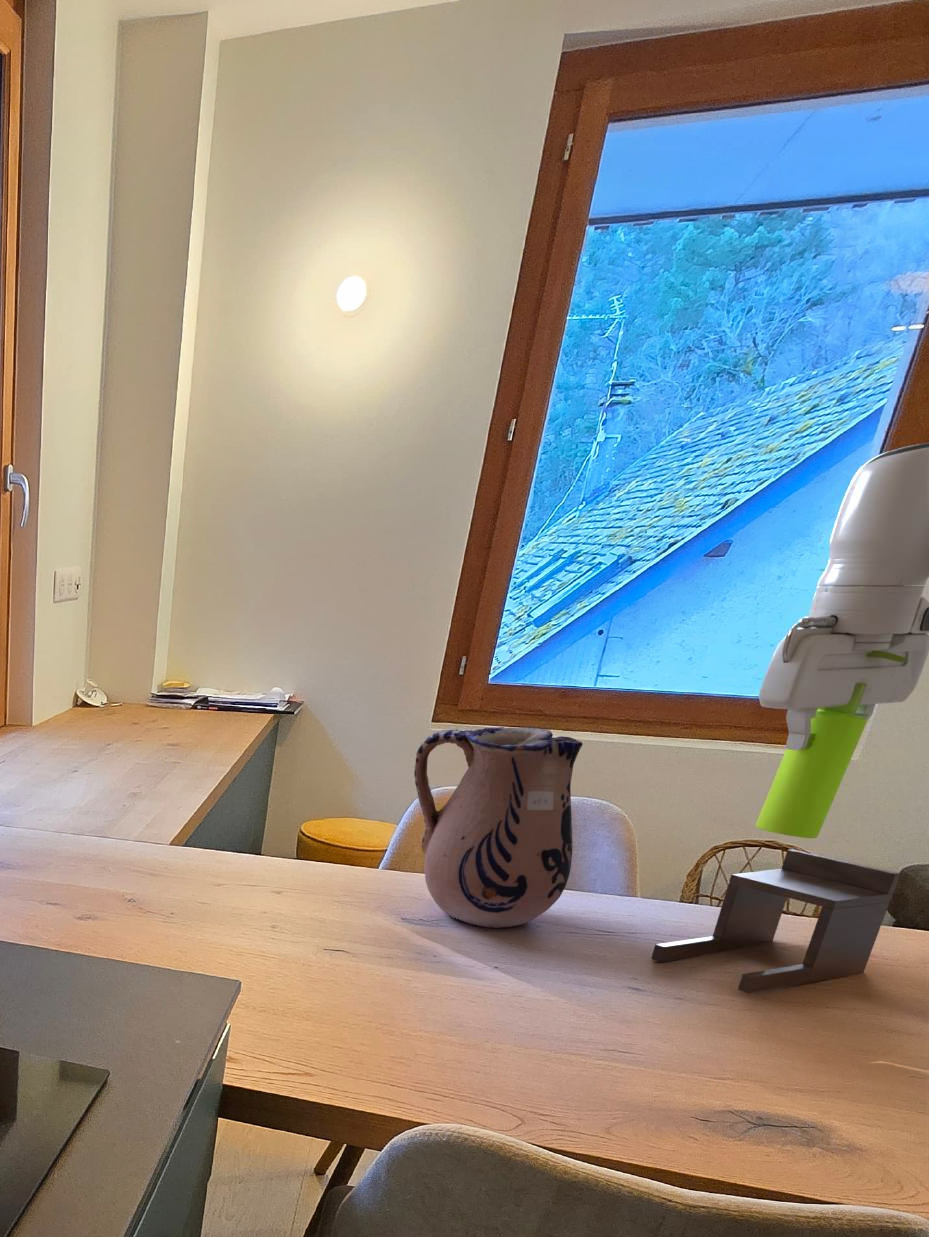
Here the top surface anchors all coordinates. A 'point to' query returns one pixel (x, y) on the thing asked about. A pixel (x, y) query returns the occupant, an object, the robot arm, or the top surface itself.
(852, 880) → the stand
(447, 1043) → the top surface
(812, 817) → the soap dispenser
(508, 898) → the ceramic pitcher
